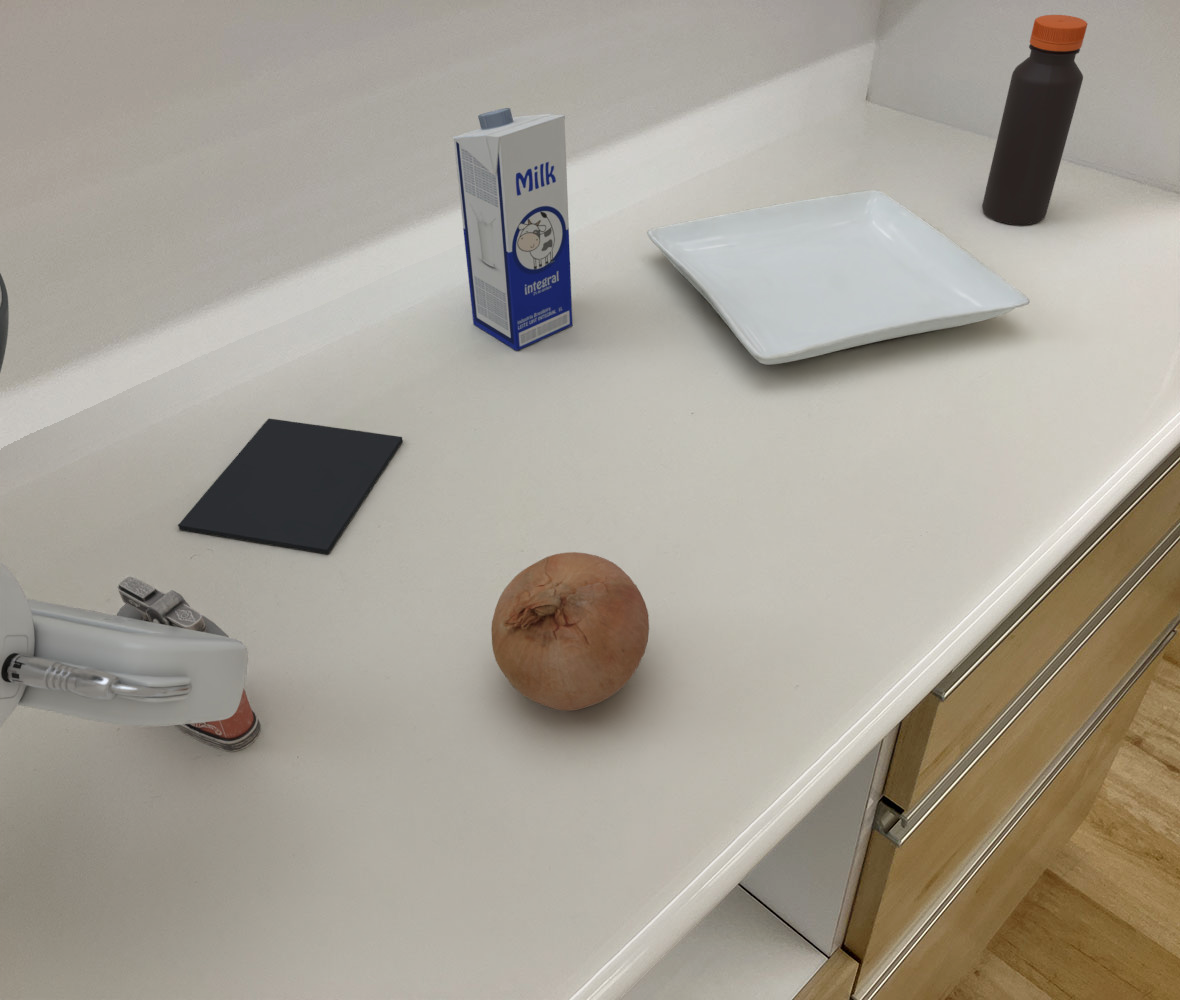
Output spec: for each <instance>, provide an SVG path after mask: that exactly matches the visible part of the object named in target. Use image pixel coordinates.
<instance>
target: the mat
mask: <svg viewBox="0 0 1180 1000" xmlns="http://www.w3.org/2000/svg"><path fill="white" fill-rule="evenodd" d="M403 442H404V440H403V436H399V435H391V434H384V433H377V432H369V431H363V430H362V431H360V430H355V429H348V428H339V427H335V426H334V427H333V426H326V425H320V424H312V423H304V422H298V421H290V420H283V419H276V418H267V419H266V420H265V422H264V423H263V424H262V425H261V427H259V429H258V430H257V431H256V432H255V434H254V435H253V436H252V437H251V438H250V440H249V441H248V442H247V443H246V444H245V445H244V446H243V448H242V449H241V450H240V451H239V453H238V454H237V455H236V456H235V457H234V458H233V459H232V461H231V462H230V463H229V464H228V465H227V467H225V469H224V470H223V472H222V473H221V474H220V475H219V476H218V477H217V479H216V480H215V481H214V482H213V483H212V484H211V485H210V487H209V488H208V489H207V490H206V491H205V493H204V494H203V495H202V496H201V497H200V499H199V500H198V501H197V502H196V503H195V504H194V505H193V506H192V508H191V509H190V510H189V511H188V513H187V514H186V515H185V516H184V517H183V519H182V520H181V521H180V522H179V523H178V524H177V526H178V530H179V531H185V532H190V533H198V534H203V535H210V536H214V537H221V538H227V539H233V540H238V541H244V542H251V543H257V544H261V545H262V544H263V545H269V546H273V547H274V546H275V547H280V548H287V549H292V550H293V549H294V550H299V551H305V552H311V553H317V554H323V555H329V554H330V553H331V551H332V549H334V547H335V545H336V543H337V542H338V540H339V539H340V538H341V536H342V534H343V533H344V531H345V530H346V528H347V527H348V525H349V524H350V523H351V521H352V519H353V518H354V517H355V515H356V513H357V512H358V510H359V509H360V507H361V506H362V504H363V503H364V501H365V500H366V498H367V496H368V495H369V494H370V492H371V491H372V490H373V487H374V486H375V484H376V483H377V482H378V480H379V479H380V477H381V476H382V474H383V472H384V471H385V470H386V468H387V466H388V465H389V463H390V462H391V461H392V459H393V457H394V456H395V454H396V453H397V451H398V450H399V448H400V447H401V445H402V444H403Z"/></svg>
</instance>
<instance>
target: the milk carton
mask: <svg viewBox="0 0 1180 1000" xmlns="http://www.w3.org/2000/svg"><path fill="white" fill-rule="evenodd" d="M477 118H478V122H479V125H480V128H477V129H474V130H470V131H467V132H465V133H462V134H458V135H455V136H452V139H453V147H454V154H455V165H456V174H457V181H458V184H457V185H458V190H459V191H458V192H459V203H460V210H461V211H460V212H461V221H462V229H463V231H462V232H463V238H464V249H465V258H466V267H467V268H466V269H467V276H468V285H469V297H470V305H471V306H470V307H471V315H472V323H473V326H475V325H476V326H475V327H476V328H478V329H480V330H481V331H483V332H485V333H486V334H488V335H490V336H491V337H493V338H495V339H496V340H498V341H500V342H501V343H503V344H504V345H506V346H508V347H509V348H511V349H513V351H515V352H518V351H520V350H522V349H524V348H527V347H529V346H531V345H533V344H535V343H538V342H539V341H542V340H545V339H546V338H549V337H550V336H553V335H555V334H557V333H560V332H562V331H563V330H566V329H568V328H571V327H573V301H572V277H571V252H570V226H569V201H568V200H569V199H568V175H567V172H568V171H567V143H566V121H565V120H566V115H565V114H554V113H543V114H542V113H541V114H532V115H521V116H515V117H513V115H512V110H511V107H505V108H501V109H495V110H492V111H491V110H490V111H488V112H485V113H481V114H479V115H477Z"/></svg>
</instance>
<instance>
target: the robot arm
mask: <svg viewBox="0 0 1180 1000" xmlns="http://www.w3.org/2000/svg"><path fill="white" fill-rule="evenodd" d="M9 309H10V308H9V296H8V291H7V286H6V283H5V280H4V278H3V276H2V273H1V272H0V373H1V372H2V369H3V364H4V360H5V355H6V350H7V343H8V336H9V323H10V322H9V319H10V317H9V314H10V311H9ZM248 660H249V651H248V648H247V646H246V645H245V644H244V643H243V642H242V641H241V640H239V639H237V638H233V637H230V636H229V637H225V636H221V635H216V634H210V633H205V632H200V631H195V630H189V629H184V628H179V627H174V626H168V625H163V624H158V623H153V622H147V621H142V620H137V619H132V618H126V617H121V616H117V614H115V615H114V614H110V613H105V612H98V611H94V610H88V609H85V608H78V607H73V606H68V605H62V604H59V603H58V604H57V603H53V602H47V601H42V600H37V599H31V598H27V596H26V593H25V591H24V589H23V588H22V585H21V584H20V582H19V580H18V579H17V577H16V576H15V575H14V573H13V572H12V571H11V570H10V569H9V568H8V566H7V565H6V564H5V563H4V562H2V561H1V560H0V728H1V727H3V725H4V724H5V723H6V722H7V720H9V718H10V717H11V716H12V714H13V713H14V712H15V709H16V708H17V707H18V706H22V707H26V708H31V709H36V710H41V711H45V712H50V713H54V714H59V715H63V716H68V717H72V718H73V717H74V718H77V719H81V720H87V721H92V722H96V723H103V724H109V725H116V726H117V725H118V726H126V727H127V726H128V727H168V726H174V725H181V724H192V723H202V722H211V721H219V720H224V719H227V718H230V717H231V716H233V715H234V714H235V712H236V711H237V709H238V706H239V704H240V700H241V697H242V693H243V688H244V687H245V683H246V678H247V677H246V676H247V673H248V662H249V661H248ZM244 689H245V688H244Z"/></svg>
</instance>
